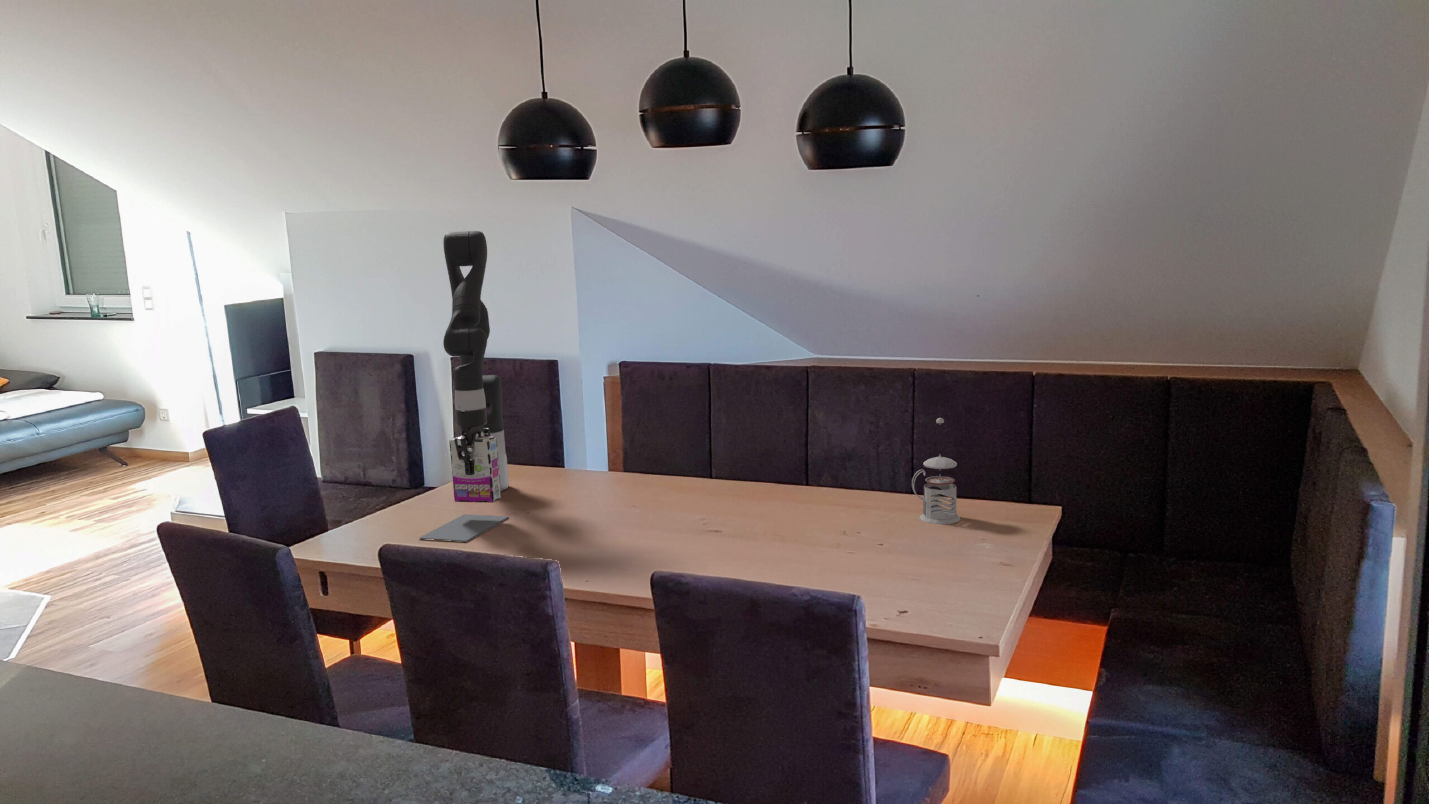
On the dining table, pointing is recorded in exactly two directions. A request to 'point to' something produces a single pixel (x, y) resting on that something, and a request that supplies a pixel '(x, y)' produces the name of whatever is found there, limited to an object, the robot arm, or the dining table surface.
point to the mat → (465, 527)
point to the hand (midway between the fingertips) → (475, 471)
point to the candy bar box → (477, 472)
